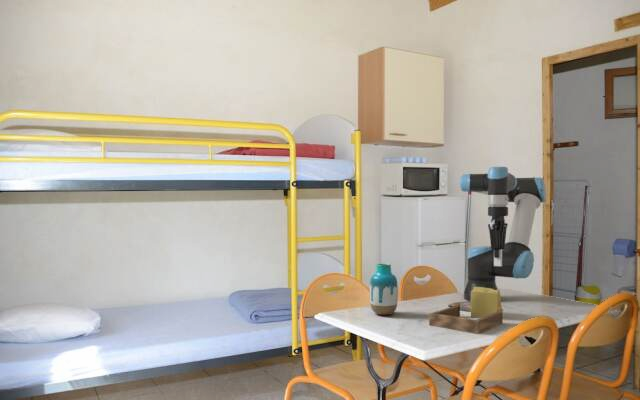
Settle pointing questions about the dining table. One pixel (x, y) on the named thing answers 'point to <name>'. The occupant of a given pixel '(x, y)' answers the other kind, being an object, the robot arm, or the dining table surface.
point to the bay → (464, 320)
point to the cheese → (484, 301)
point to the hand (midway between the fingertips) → (498, 265)
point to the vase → (383, 290)
